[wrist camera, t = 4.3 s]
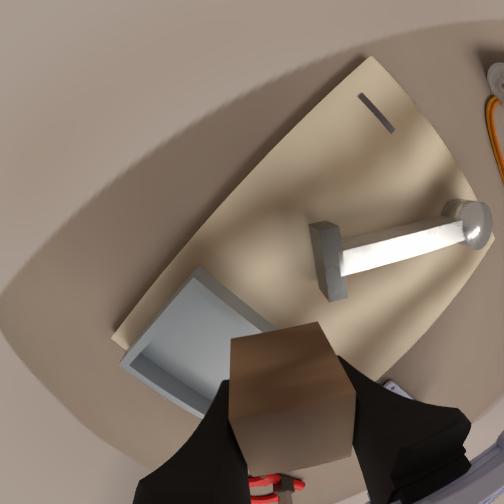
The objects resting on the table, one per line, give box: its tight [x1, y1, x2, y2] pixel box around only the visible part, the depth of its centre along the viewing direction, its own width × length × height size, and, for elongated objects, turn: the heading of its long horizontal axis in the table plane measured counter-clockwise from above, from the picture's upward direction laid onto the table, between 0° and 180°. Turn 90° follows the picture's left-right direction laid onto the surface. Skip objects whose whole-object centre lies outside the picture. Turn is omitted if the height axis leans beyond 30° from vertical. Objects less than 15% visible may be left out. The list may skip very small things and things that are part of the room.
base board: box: [111, 56, 495, 382], centre depth 20 cm, size 20×29×1 cm
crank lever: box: [308, 198, 493, 303], centre depth 17 cm, size 15×4×3 cm, turn 102°
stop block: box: [229, 321, 356, 477], centre depth 10 cm, size 4×4×5 cm
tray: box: [119, 265, 278, 419], centre depth 19 cm, size 11×9×2 cm
